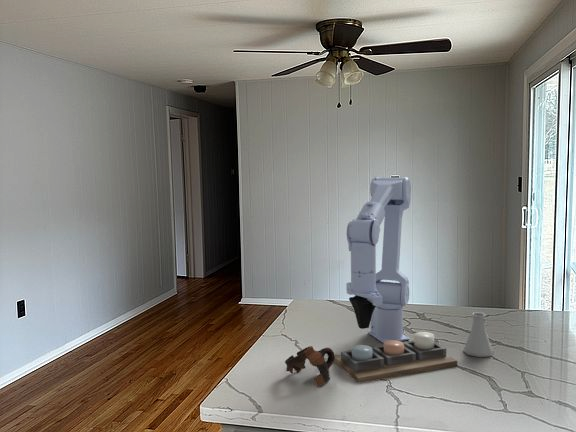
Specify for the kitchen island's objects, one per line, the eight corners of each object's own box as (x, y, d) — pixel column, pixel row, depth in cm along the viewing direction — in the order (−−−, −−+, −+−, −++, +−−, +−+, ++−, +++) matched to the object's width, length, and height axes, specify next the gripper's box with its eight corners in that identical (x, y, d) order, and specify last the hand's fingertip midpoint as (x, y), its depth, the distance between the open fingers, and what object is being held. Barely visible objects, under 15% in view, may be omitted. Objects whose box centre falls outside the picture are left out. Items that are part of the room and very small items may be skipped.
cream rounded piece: (410, 345, 130) (410, 333, 130) (426, 343, 131) (427, 330, 131) (421, 352, 125) (421, 339, 125) (438, 349, 127) (438, 336, 127)
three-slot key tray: (332, 360, 128) (332, 347, 128) (423, 345, 137) (423, 334, 136) (358, 383, 115) (358, 369, 115) (457, 365, 124) (457, 352, 123)
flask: (496, 358, 127) (496, 319, 126) (464, 357, 129) (465, 318, 128) (490, 348, 134) (491, 310, 133) (461, 346, 136) (461, 309, 135)
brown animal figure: (310, 394, 111) (292, 360, 112) (291, 398, 119) (274, 365, 120) (350, 367, 118) (332, 334, 119) (329, 371, 126) (313, 340, 127)
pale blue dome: (348, 359, 125) (348, 346, 124) (366, 356, 126) (366, 343, 126) (357, 367, 120) (357, 353, 120) (376, 363, 122) (375, 350, 121)
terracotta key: (380, 354, 127) (380, 341, 127) (397, 351, 129) (397, 339, 128) (390, 361, 123) (390, 348, 122) (407, 358, 124) (407, 345, 124)
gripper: (334, 266, 126) (335, 320, 128) (361, 279, 113) (362, 339, 114) (361, 263, 129) (361, 317, 130) (390, 276, 115) (390, 335, 117)
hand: (363, 327), depth 122 cm, fingers closed
